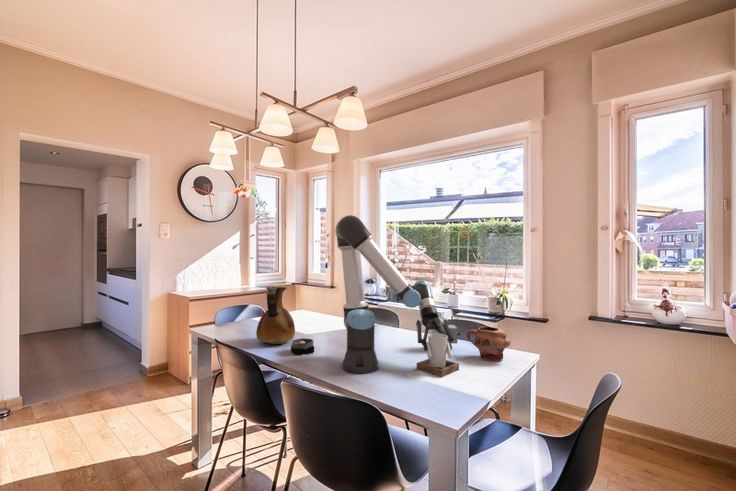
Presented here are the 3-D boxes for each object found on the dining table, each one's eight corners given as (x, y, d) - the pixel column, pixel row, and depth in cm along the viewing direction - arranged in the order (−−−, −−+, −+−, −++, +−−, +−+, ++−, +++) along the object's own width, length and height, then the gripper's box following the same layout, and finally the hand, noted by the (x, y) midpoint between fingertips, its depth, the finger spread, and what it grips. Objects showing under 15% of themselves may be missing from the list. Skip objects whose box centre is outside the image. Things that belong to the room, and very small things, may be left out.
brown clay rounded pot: (461, 357, 161) (462, 327, 161) (470, 351, 171) (470, 322, 171) (507, 365, 150) (507, 333, 150) (513, 358, 160) (513, 328, 160)
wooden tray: (441, 377, 136) (441, 370, 136) (416, 369, 145) (416, 363, 145) (458, 369, 144) (458, 363, 144) (434, 362, 153) (434, 356, 153)
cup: (424, 362, 147) (424, 334, 147) (440, 360, 150) (440, 332, 150) (434, 368, 139) (434, 338, 139) (451, 366, 142) (451, 337, 142)
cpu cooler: (309, 337, 175) (316, 341, 166) (309, 348, 175) (316, 353, 166) (289, 339, 170) (295, 344, 161) (289, 351, 170) (295, 356, 161)
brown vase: (297, 337, 195) (297, 284, 195) (291, 347, 175) (292, 288, 175) (261, 338, 194) (262, 284, 194) (252, 348, 174) (252, 288, 174)
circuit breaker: (460, 351, 171) (460, 320, 171) (431, 350, 171) (431, 320, 171) (457, 346, 178) (457, 317, 179) (429, 346, 179) (429, 317, 179)
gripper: (447, 314, 161) (462, 360, 145) (404, 315, 158) (413, 362, 142) (452, 305, 156) (467, 351, 140) (407, 306, 153) (417, 353, 137)
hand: (440, 357), depth 141 cm, fingers closed on cup, 8 cm apart
